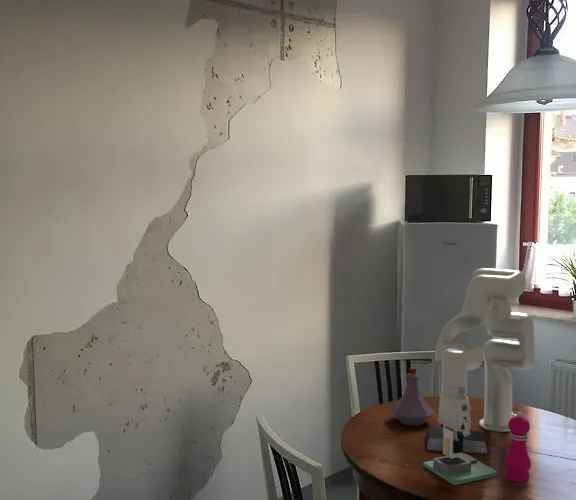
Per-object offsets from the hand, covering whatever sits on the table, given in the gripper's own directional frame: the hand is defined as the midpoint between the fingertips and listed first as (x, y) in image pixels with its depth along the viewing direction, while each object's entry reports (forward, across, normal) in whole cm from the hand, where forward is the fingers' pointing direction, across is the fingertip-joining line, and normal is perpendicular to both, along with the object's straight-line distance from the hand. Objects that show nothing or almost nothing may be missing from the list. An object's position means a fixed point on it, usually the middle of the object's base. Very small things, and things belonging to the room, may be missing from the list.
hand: (453, 449), depth 203 cm
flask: (+7, +42, -15) cm, 46 cm away
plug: (+2, 0, 0) cm, 2 cm away
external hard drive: (+8, +18, -15) cm, 24 cm away
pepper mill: (+7, -11, -15) cm, 20 cm away
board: (+7, 0, -3) cm, 8 cm away
